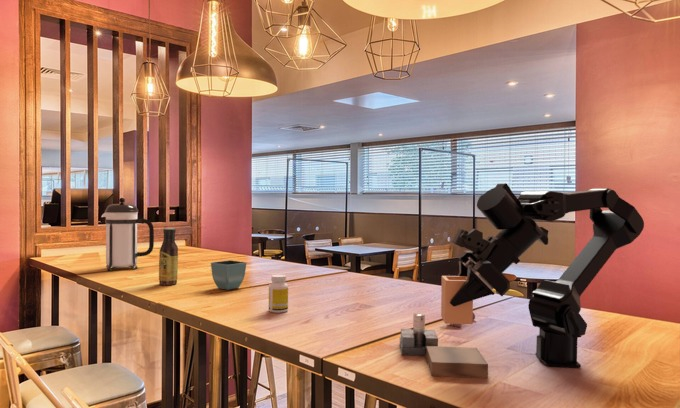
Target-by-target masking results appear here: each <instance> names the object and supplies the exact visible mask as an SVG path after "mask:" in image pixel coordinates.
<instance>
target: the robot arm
mask: <svg viewBox="0 0 680 408" xmlns="http://www.w3.org/2000/svg"><path fill="white" fill-rule="evenodd" d="M476 207H477V209H478V210H479V211H480V212H481V214H482V215H483V216H484V217H485V218H486V219H487V220H488V222H490V224H491V225H492V226H493V227H494V229H496V230H499V232H498V233H497V234H495V236H493V235H489V236H488V237H486V238H484V236H483V232H482V231H480V230H478V229H476V228H472V229H471V230H469V231H468V230H465V229H463V228H461V227H458V229H457V231H456V233H455V234H454V237H453V239H452V241H451V243H453V244H454V245H456V246H458V247H460V248H465V249H467V250H463V251H461V252H460V254H459V255H458V256H457V258H458V259H459V261H458V266H459V268H458V269H459V272H458V274H457V276H467V280H466V281H465V283H464V284H463V285H462V286H461V288H460V289H459V290H458V292H457V293H456V294H455V295H454V297H453V298H452V300H451V301H450V304H451V305H452V306H458V305H460V304H463V303H466V302H469V301H472V300H473V301H475V300H478V299H483V298H484V297H489V296H493V295H495V294H496V293H497V294H498V295H499V296H501V297H504V295H505V294H506V293H507V292H509V291H510V289H511V280H509V279H508V278H507V277H506V276H505V275H504V274H503V273H504V272H505V271H506V270H507V269H508V268H510V266H511V265H513V264H515V265H518V264H519V263H520V262H521V260H520V259H519V258H520V257H521V256H522V255H523V254H524V253H525V252H526V251H528V249H529V248H531V247H532V246H533V245H534V244H535V243H536V242H537V241H538V242H540V243H541V244H543V245H545V246H547V245H549V237H548V236H549V230H548V229H546V228H544V227H543V226H539V225H538V224H537V222H547V223H548V222H550V223H551V222H555V221H557V220H560V219H563V218H564V217H565V215H566V214H569V213H573V212H582V211H587V210H589V219H590V220H591V222H592V223H593V224H592V232H593V235H592V237H591V238H590V240H588V242H587V243H586V245H585V246H584V247H583V248H582V250H580V252H578V254H577V255H576V257H575V258H574V259H573V260H572V261H571V263H570V264H569V266H568V267H567V268H566V269H565V270H564V272H563V273H562V274H561V276H560V277H559V278H558V279H557V280H556V281H551V280H546V279H543V280H542V281H541V282H540V283H539V284H538V286H537V287H536V289H534V290H533V291H532V292H531V294H532V296H531V297H530V298H529V301H528V312H529V316H530V318H531V324H532V327H535V328H538V329H539V331H538V333H539V334H537V335H536V348H535V350H536V352H535V356H536V357H537V358H538V359H539V360H540V361H541V362H542V363H543V364H544V365H545V366H546V367H547V366H548V367H567V368H568V367H569V368H581V366H582V365H581V363H580V362H578V338H582V336H585V334H586V331H587V327H588V323H587V322H586V321H585V319H584V318H583V316H582V315H581V314H580V312H581V309H582V308H581V306H582V305H581V296H582V294H583V293H584V292H585V291H586V290H587V288H588V286H590V284H591V283H592V282H593V280H594V279H595V278H596V276H597V275H598V274H599V272H600V271H601V270H602V268H603V267H604V266H605V265H606V263H607V262H608V260H609V259H610V258H611V256H612V255H613V254H614V253H615V251H616V250H617V249H618V250H619V249H620V248H623V247H625V246H627V245H629V244H632V243H633V242H634V241H635V240H636V239H637V238H638V237H639V236H640V235H641V234H642V232H643V231H644V228H645V222H644V219H643V217H642V216H641V214H640V213H639V211H638V210H637V208H636V207H635V206H634V205H633V204H631V203H629V202H627V201H626V200H624V199H623V198H622V197H620V196H619V194H618V192H616V191H615V190H614V189H611V188H590V189H588V190H578V191H570V192H569V191H568V192H560V191H559V192H558V191H553V190H551V191H550V190H548V191H547V190H545V191H544V190H542V191H541V190H537V191H536V190H529V191H528V190H525V191H522V192H520V194H519V196H518V197H517V196H516V194H514V192H513V191H512V190H511V188H510V186H509V185H508V184H507V183H506V182H505V183H504V182H503V183H499V182H498V183H497V184H496V186H495V187H493V188H490V189H489V190H488V191H486V192H485V193H484V194H482V195H480V196H479V198H478V199H477V202H476ZM604 208H605V209H604ZM602 209H603V210H602ZM536 221H537V222H536ZM493 290H494V291H495V292H496V293H495V292H494V291H493Z"/></svg>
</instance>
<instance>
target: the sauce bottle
mask: <svg viewBox="0 0 680 408" xmlns="http://www.w3.org/2000/svg"><path fill="white" fill-rule="evenodd" d="M162 230H163V242H162V244H161V245H160V246H161V247H160V249H159V254H158V255H159V257H158V258H159V259H158V261H159V262H158V263H159V264H158V284H159V285H161V286H173V285H177V284H178V283H177V282H178V275H179V274H178V273H179V271H178V270H179V269H178V268H179V248H178V244H177V243H176V242H175V241H176V239H175V238H176V232H177V231H176V230H177V229H176V228H174V227H166V228H163V229H162Z"/></svg>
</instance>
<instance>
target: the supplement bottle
mask: <svg viewBox="0 0 680 408" xmlns="http://www.w3.org/2000/svg"><path fill="white" fill-rule="evenodd" d="M286 280H287V275H285V274H274V275H271V283H269V284H268V311H269V312H270V313H275V314H276V313H277V314H278V313H279V314H280V313H286V312H287V311H288V310H289V285H288V283H286Z"/></svg>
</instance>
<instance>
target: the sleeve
mask: <svg viewBox="0 0 680 408" xmlns="http://www.w3.org/2000/svg"><path fill="white" fill-rule="evenodd" d="M466 280H467V276H458V275H441V290H440V291H441V293H440V294H441V297H440V298H441V300H440V301H441V302H440V303H441V305H440V317H441V319H442V321H443V322H444V324H449V325H453V324H462V325H474V324H473V321H474V320H473V313H474V312H473V311H474V303H473V302H474V300H472V301H469V302H466V303H463V304H460V305H458V306H452V305H451V304H450V301H451V300H452V298H453V297H454V295H455V294H456V293H457V292H458V290H459V289H460V288H461V286H462V285H463V284H464V283H465V281H466Z"/></svg>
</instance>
